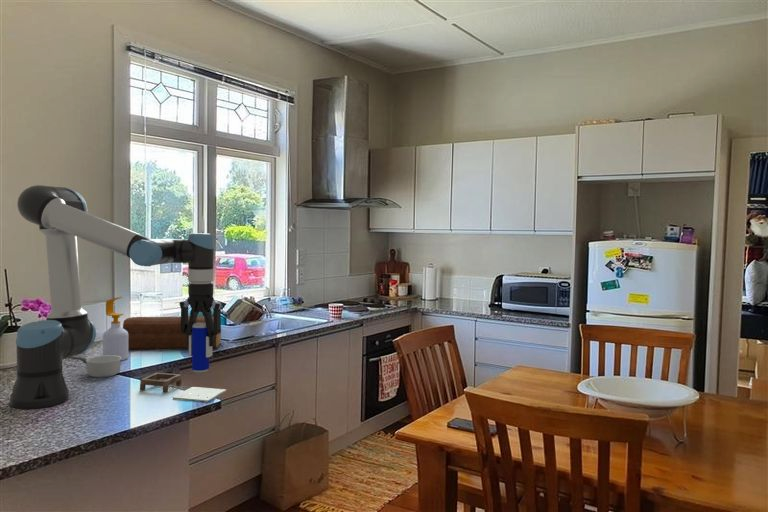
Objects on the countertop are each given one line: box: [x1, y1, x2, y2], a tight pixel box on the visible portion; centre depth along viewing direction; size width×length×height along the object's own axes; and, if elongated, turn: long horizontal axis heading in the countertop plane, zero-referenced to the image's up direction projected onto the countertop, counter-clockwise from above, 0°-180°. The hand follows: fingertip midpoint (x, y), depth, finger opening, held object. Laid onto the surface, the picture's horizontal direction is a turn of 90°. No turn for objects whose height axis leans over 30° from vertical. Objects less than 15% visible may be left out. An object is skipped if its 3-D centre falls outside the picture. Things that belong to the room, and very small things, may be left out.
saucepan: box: [67, 355, 122, 378], centre depth 203 cm, size 12×20×6 cm, turn 78°
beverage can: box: [191, 322, 210, 373], centre depth 180 cm, size 5×5×15 cm
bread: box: [122, 316, 222, 351], centre depth 250 cm, size 16×39×13 cm, turn 100°
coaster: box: [171, 386, 227, 403], centre depth 180 cm, size 12×12×1 cm
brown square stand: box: [139, 372, 182, 393], centre depth 187 cm, size 9×9×4 cm
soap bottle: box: [102, 296, 129, 362], centre depth 224 cm, size 9×9×25 cm
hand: (200, 355), depth 180 cm, fingers closed on beverage can, 5 cm apart
